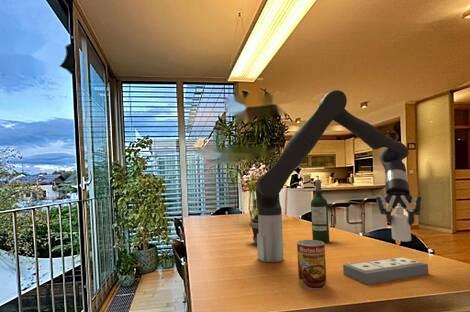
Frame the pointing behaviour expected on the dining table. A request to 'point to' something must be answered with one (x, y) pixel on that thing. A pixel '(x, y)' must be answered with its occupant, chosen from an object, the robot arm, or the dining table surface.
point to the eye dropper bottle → (400, 225)
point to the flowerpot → (255, 228)
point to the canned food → (311, 264)
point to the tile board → (385, 270)
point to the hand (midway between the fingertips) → (400, 223)
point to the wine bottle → (319, 215)
